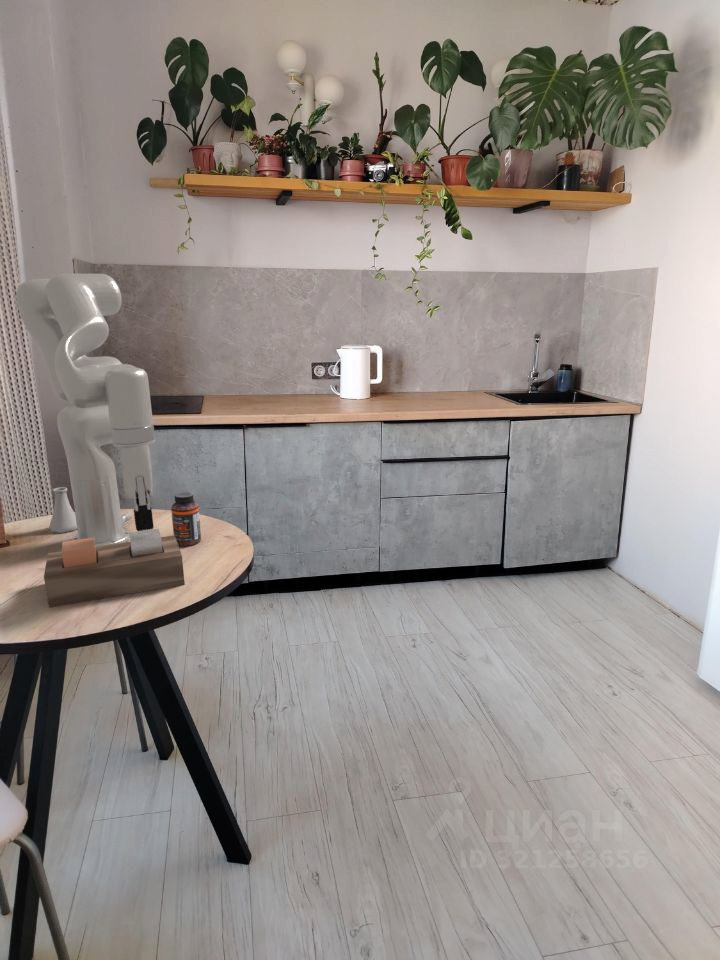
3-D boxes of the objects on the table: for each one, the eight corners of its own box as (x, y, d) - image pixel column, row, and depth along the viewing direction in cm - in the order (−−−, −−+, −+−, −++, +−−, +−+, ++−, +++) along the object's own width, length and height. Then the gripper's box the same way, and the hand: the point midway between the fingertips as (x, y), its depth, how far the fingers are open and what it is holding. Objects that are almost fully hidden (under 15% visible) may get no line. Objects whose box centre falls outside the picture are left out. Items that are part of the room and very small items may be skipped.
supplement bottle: (170, 546, 149) (165, 497, 145) (180, 537, 154) (175, 490, 151) (196, 547, 148) (191, 498, 145) (205, 537, 154) (201, 490, 150)
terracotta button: (66, 566, 129) (62, 541, 127) (97, 561, 131) (94, 537, 129) (65, 577, 124) (61, 552, 122) (97, 572, 126) (94, 547, 124)
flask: (72, 521, 167) (66, 483, 164) (87, 527, 162) (82, 487, 159) (43, 529, 161) (37, 489, 159) (58, 535, 157) (52, 495, 154)
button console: (52, 581, 131) (47, 553, 130) (177, 562, 140) (174, 535, 138) (48, 607, 121) (43, 576, 119) (184, 584, 129) (181, 555, 127)
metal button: (131, 556, 133) (128, 532, 131) (161, 552, 135) (158, 528, 133) (133, 566, 128) (130, 542, 126) (163, 561, 130) (161, 537, 128)
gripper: (110, 430, 130) (122, 520, 135) (113, 445, 116) (126, 544, 121) (151, 427, 132) (161, 515, 137) (157, 440, 119) (169, 537, 124)
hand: (144, 528), depth 129 cm, fingers closed
